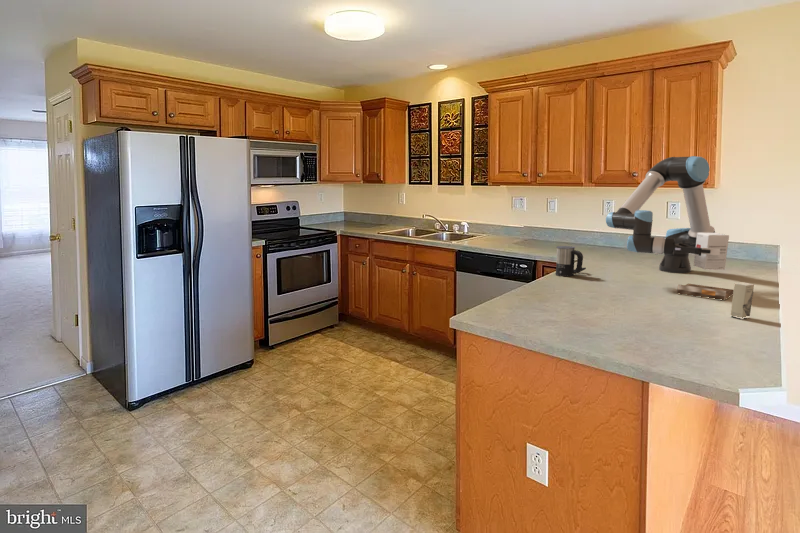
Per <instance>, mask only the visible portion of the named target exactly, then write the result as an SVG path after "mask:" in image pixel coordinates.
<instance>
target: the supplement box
mask: <svg viewBox="0 0 800 533" xmlns="http://www.w3.org/2000/svg"><path fill="white" fill-rule="evenodd" d="M729 240H730V235H729V234H726V233H725V234H724V233H720V232H715V233H697V239H696V247H698V248H715V249H720V255H708V254H702V253H701V256H698V255H699V254H698V255H697V254H694V259H693V266H694V267H697V268H698V269H699V268H700V269H703V270H725V269H726V262H727V255H728V246H729Z"/></svg>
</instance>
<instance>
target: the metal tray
mask: <svg viewBox="0 0 800 533" xmlns="http://www.w3.org/2000/svg"><path fill="white" fill-rule="evenodd" d="M676 291H677V292H676V294H677V293H680V294H679V295H682V294H687V295H686V296H689V295H693V296H692V297H696V296H701V297H700V298H702V297H709V298H715V299H722V300H725V299H726V298H727V299H729V298H730V297H731V296H733V295H732V294H733V292H734V289H730V288H724V287H717V286H708V285H702V284H701V285H700V284H695V283H686V284H677V290H676ZM729 296H730V297H729ZM728 297H729V298H728ZM709 298H708V299H709ZM715 299H714V300H715ZM727 299H726V300H727ZM722 300H721V301H722ZM726 300H725V301H726Z"/></svg>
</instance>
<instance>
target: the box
mask: <svg viewBox="0 0 800 533" xmlns="http://www.w3.org/2000/svg"><path fill="white" fill-rule="evenodd" d="M754 288H755V284H752V283H747V282H744V281H742V282H736V283H734V285H733V290H734V292H733V295H732V301H731V309H730V315H732V316H737V317H742V318H743V317H746V316H750V317H751V309H752V301H753V296H754Z"/></svg>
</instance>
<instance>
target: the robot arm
mask: <svg viewBox="0 0 800 533" xmlns="http://www.w3.org/2000/svg"><path fill="white" fill-rule="evenodd" d="M709 175H710V165H709V162H708V161H707V159H706V158H705V157H703V156H696V155H691V156H671V157H667V158H664V159H662V160H661V161H658V162H657V163H656V164H654V165H653V166H652V167H651V168H650V169H649V170H648V171H647V172H646V174H645V177H644V179H643V180H642V181H641V182H640V184H639V185H638V186H637V187H636V188H635V190H633V192H632V193H631V194H630V195H629V196H628V198H627V199H626V200H625V201H624V203H623V204H622V205H621V206H619V208H618V209H617V210H616V211H610V212H608V214H607V215H606V216H605V224H606V225H607V227H608V228H611V229H612V228H614V229H621V230H630V231H632V232H633V233H632V235H629V236H628V237H627V242H626V249H627V251H629V252H634V253H642V254H655V255H656V256H658V255H663V257H662V259H661V261H660V264H659V267H658V269H659V271H662V272H667V273H674V274H675V273H676V274H688V273H691V272H692V265H691V262H690V259H689V255H690V254H693V255H695V254H697V255H698V254H699V255H698V256H701V253H702V254H708V255H720V249H715V248H698V247H696V239H697V233H716V230H715V227H714V226H712V225H711V224H710V222H711V221H710V218H709V216H710V215H709V212H708V206H707V201H706V196H705V191H704V190H705V189H704V184H705V183H706V180H707V179H708V178H709V177H710V176H709ZM667 182H677V186H678V188H679V189H682V192H683V193H682V194H683V197H684V203H685V209H686V212H687V216H688V218H687V219H688V222H689V227H680V228H678V227H677V228H668V229H667V230H666V232H665V237H661V236H652V226H653V215H654V214H653V211H652V210H642V209H641V208H642V207H643V205H644V204H645V203H646V202H647V201H648V200H649V199H650V197H651V196H652V195H653V194H654V193H655V191H656V190H657V189H658V188H659V187H662V186H664V184H665V183H667Z"/></svg>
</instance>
